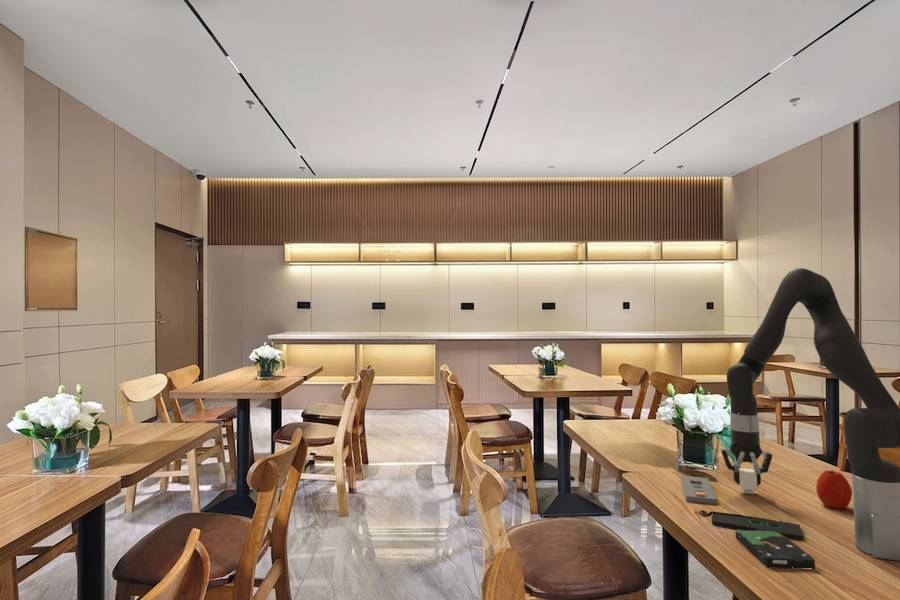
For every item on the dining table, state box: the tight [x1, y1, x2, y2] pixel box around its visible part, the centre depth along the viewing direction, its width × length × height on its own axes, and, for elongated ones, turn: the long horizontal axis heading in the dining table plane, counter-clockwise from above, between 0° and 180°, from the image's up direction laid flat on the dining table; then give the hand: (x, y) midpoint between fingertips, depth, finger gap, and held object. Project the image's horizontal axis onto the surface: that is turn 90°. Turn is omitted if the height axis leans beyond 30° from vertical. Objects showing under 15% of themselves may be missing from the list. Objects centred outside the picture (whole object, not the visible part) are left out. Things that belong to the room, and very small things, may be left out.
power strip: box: [680, 475, 718, 517], centre depth 145 cm, size 26×8×4 cm, turn 158°
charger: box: [738, 467, 758, 495], centre depth 146 cm, size 4×4×6 cm
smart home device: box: [711, 511, 804, 541], centre depth 126 cm, size 8×2×20 cm
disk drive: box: [735, 529, 816, 570], centre depth 112 cm, size 10×3×15 cm
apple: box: [815, 470, 853, 510], centre depth 138 cm, size 8×8×11 cm
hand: (747, 484), depth 146 cm, fingers closed on charger, 4 cm apart
